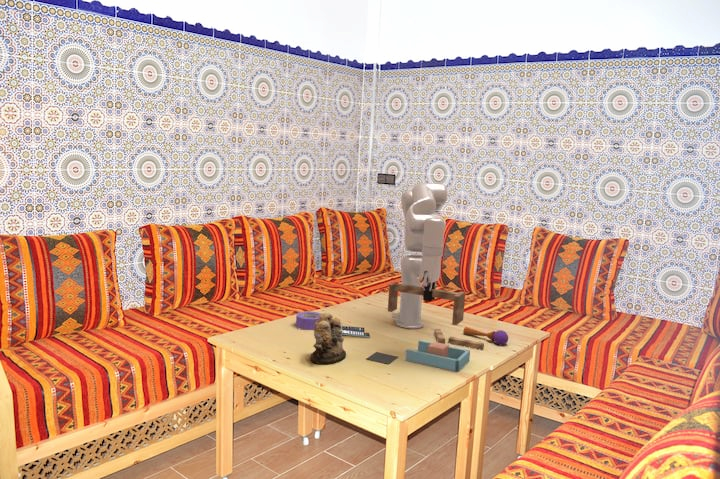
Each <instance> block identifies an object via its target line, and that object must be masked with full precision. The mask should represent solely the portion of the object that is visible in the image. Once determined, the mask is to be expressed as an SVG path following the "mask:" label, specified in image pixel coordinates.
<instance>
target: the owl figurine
mask: <svg viewBox="0 0 720 479" xmlns="http://www.w3.org/2000/svg"><path fill="white" fill-rule="evenodd" d="M343 329H344V328H343V324H342V322H341V319H340V318H338V317H337V318H336V317H334V318H333V315H332V313H331V312H324V313H321V315H320V316H319V318H318V320H317V321H316V323H315V328H314V330H313V331H314V332H313V336H314V339H315V343H314V344H313V345H312V346H313V348H314V349H315V350H314V351H313V352H311V354H310V356H309V360H310V362H312V363H316V364H319V365H325V366H328V365H329V366H330V365H334V364H337V363H340V362H342V361H343V360H344V359H345V358H346V356H347V352H346V350H345V349H344V348H343V342H344V337H343Z"/></svg>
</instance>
